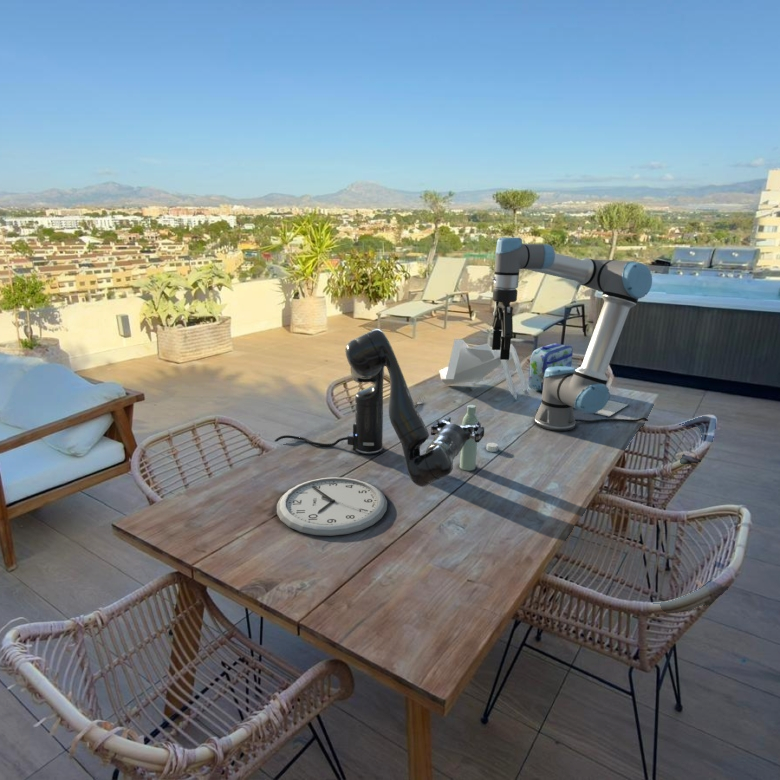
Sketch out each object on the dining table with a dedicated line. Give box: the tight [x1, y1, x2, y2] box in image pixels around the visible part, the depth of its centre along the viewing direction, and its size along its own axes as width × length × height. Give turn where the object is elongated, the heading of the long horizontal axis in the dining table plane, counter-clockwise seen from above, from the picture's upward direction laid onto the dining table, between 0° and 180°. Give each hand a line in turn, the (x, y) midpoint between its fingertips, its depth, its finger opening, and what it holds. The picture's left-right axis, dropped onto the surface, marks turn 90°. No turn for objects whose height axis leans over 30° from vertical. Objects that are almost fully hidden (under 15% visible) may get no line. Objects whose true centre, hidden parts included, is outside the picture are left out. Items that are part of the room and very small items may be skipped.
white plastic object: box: [438, 310, 531, 400], centre depth 245 cm, size 37×45×31 cm
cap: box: [486, 442, 499, 453], centre depth 180 cm, size 4×4×2 cm
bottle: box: [459, 404, 480, 472], centre depth 164 cm, size 5×5×21 cm
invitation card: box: [595, 400, 629, 418], centre depth 226 cm, size 21×1×15 cm
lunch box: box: [528, 343, 574, 392], centre depth 249 cm, size 26×11×21 cm, turn 134°
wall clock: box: [276, 476, 388, 537], centre depth 142 cm, size 30×2×30 cm
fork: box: [414, 395, 425, 408], centre depth 222 cm, size 3×16×2 cm, turn 160°
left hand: (463, 422), depth 152 cm, fingers open, 8 cm apart
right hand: (500, 354), depth 170 cm, fingers open, 13 cm apart
